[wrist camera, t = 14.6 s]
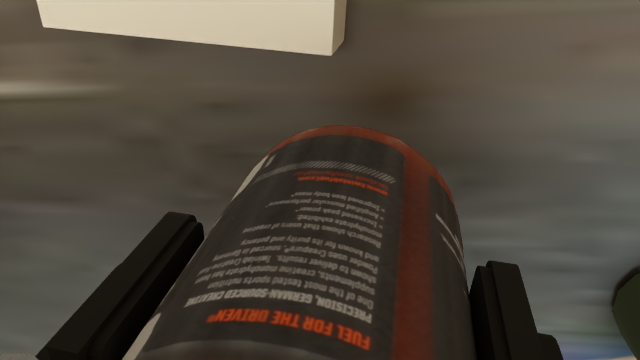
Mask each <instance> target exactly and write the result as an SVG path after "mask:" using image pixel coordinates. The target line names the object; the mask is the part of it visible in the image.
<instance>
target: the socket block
mask: <svg viewBox="0 0 640 360" xmlns="http://www.w3.org/2000/svg"><path fill="white" fill-rule="evenodd" d="M346 3H347V0H37V4H38V8H39V12H40V16H41V20H42V24H43V27H48V28H58V29H68V30H78V31H88V32H98V33H108V34H118V35H128V36H138V37H148V38H158V39H168V40H178V41H188V42H198V43H208V44H218V45H228V46H238V47H248V48H258V49H268V50H278V51H288V52H298V53H308V54H318V55H328V56H332V55H333V54H334V52H335V51H336V50H337V49H338V47H339V46H340V45H341V44H342V42H343V41H344V33H345V18H346Z"/></svg>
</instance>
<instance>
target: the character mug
mask: <svg viewBox="0 0 640 360" xmlns="http://www.w3.org/2000/svg"><path fill="white" fill-rule="evenodd" d="M612 312H613V315H614V317H615V320H616V322H617V325H618V327H619V330H620V332H621V334H622V336H623V337H624V339H625V341H626V342H627V344H628V346H629V347H630V349H631V351H632V352H633V354H634V356H635V357H636V359H637V360H640V273H639V274H636V275H635V276H634V277H633V278H632V279H631V280H630V281H628V282H627V283H626V284H625V285H624V286H623V287H622V288H621V289H620V290H619V291H618V294H617V297H616V300H615V303H614V307H613V310H612Z"/></svg>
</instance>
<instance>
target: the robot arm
mask: <svg viewBox="0 0 640 360" xmlns="http://www.w3.org/2000/svg"><path fill="white" fill-rule="evenodd" d="M203 241H204V231H203V225H202V223H200V222H197V220H196V218H195V216H193V215H189V214H183V213H176V212H168V213H167V214H166V215H165V216H164V217H163V218H162V219H161V220H160V221H159V223H158V224H157V225H156V226H155V227H154V228H153V229H152V230H151V231H150V233H149V234H148V235H147V236H146V237H145V238H144V239H143V240H142V241H141V243H140V244H139V245H138V246H137V247H136V248H135V249H134V250H133V251H132V253H131V254H130V255H129V256H128V257H127V258H126V259H125V260H124V261H123V262H122V263H121V264H120V265H118V266H117V267H116V268H115V269H114V270H113V271H112V272H111V274H110V275H109V276H108V277H107V278H106V279H105V280H104V281H103V282H102V283H101V285H100V286H99V287H98V288H97V289H96V290H95V291H94V292H93V293H92V294H91V296H90V297H89V298H88V299H87V300H86V301H85V302H84V303H83V304H82V305H81V307H80V308H79V309H78V310H77V311H76V312H75V313H74V314H73V315H72V317H71V318H70V319H69V320H68V321H67V322H66V323H65V324H64V325H63V326H62V328H61V329H60V330H59V331H58V332H57V333H56V334H55V335H54V336H53V337H52V339H51V340H50V341H49V342H48V343H47V344H46V345H45V346H44V347H43V348H42V350H41V351H40V352H39V353H38V354H37V355H36V356H32V355H29V354H26V353H10V354H5V355H0V360H122V359H123V358H124V356H125V355H126V353H127V352H128V350H129V349H130V348H131V346H132V345H133V343H134V342H135V340H136V339H137V337H138V336H139V334H140V332H141V331H142V330H143V328H144V327H145V326H146V324H147V322H148V321H149V319H150V318H151V316H152V315H153V314H154V312H155V310H156V309H157V307H158V306H159V305H160V303H161V302H162V300H163V299H164V298H165V296H166V295H167V293H168V292H169V291H170V289H171V288H172V286H173V285H174V283H175V282H176V280H177V279H178V278H179V276H180V274H181V273H182V271H183V269H184V268H185V267H186V266H187V264H188V263H189V261H190V260H191V258H192V257H193V256H194V254H195V253H196V251H197V250H198V248H199V247H200V245H201V244H202V242H203ZM469 301H470V310H471V316H472V324H473V332H474V339H475V346H476V354H477V360H563V357H562V354H561V351H560V348H559V345H558V343H557V341H556V339H555V338H554V337H553V336H552V335H546V334H541V333H537V330H536V326H535V323H534V319H533V316H532V312H531V309H530V305H529V302H528V298H527V295H526V291H525V288H524V284H523V281H522V277H521V274H520V270H519V267H518V266H517V265H516V264H510V263H503V262H497V261H488V262H487V264H486V267H484V266H477V268H476V271H475V274H474V278H473V282H472V285H471V289H470V293H469Z"/></svg>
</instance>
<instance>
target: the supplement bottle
mask: <svg viewBox="0 0 640 360" xmlns="http://www.w3.org/2000/svg"><path fill="white" fill-rule="evenodd" d="M122 360H477V354H476V346H475V339H474V332H473V324H472V316H471V310H470V301H469V292H468V286H467V280H466V270H465V265H464V256H463V245H462V238H461V233H460V225H459V220H458V215H457V213H456V209H455V205H454V201H453V198H452V195H451V192H450V190H449V188H448V187H447V185H446V183H445V181H444V180H443V178H442V177H441V175H440V174H439V173H438V171H437V170H436V169H435V167H434V166H433V165H432V164H431V163H430V162H429V161H428V160H426V159H425V158H424V157H423V156H422V155H421V154H420V153H419V152H417V151H416V150H415V149H413V148H412V147H411V146H409V145H407V144H406V143H404V142H402V141H400V140H399V139H397V138H395V137H393V136H391V135H389V134H386V133H382V132H379V131H376V130H372V129H368V128H362V127H355V126H324V127H319V128H314V129H310V130H307V131H304V132H301V133H297V134H295V135H293V136H291V137H289V138H287V139H285V140H284V141H282V142H281V143H280V144H278V145H277V146H276V147H274V148H273V149H272V150H271V151H269V152H268V153H267V154H266V155H265V156H264V157H263V158H262V159H261V161H260V162H259V163H258V164H257V165H256V166H255V167H254V168H253V170H252V171H251V173H250V174H249V175H248V177H247V178H246V179H245V181H244V182H243V184H242V185H241V187H240V188H239V190H238V191H237V193H236V194H235V196H234V197H233V199H232V200H231V202H230V203H229V204H228V206H227V207H226V208H225V210H224V211H223V213H222V214H221V216H220V217H219V219H218V220H217V221H216V223H215V224H214V226H213V227H212V229H211V231H210V232H209V233H208V235H207V236H206V238H205V239H204V241H203V242H202V244H201V245H200V247H199V248H198V250H197V251H196V253H195V254H194V256H193V257H192V258H191V260H190V261H189V263H188V264H187V266H186V267H185V268H184V269H183V271H182V273H181V274H180V276H179V278H178V279H177V280H176V282H175V283H174V285H173V286H172V288H171V289H170V291H169V292H168V293H167V295H166V296H165V298H164V299H163V300H162V302H161V303H160V305H159V306H158V307H157V309H156V310H155V312H154V314H153V315H152V316H151V318H150V319H149V321H148V322H147V324H146V326H145V327H144V328H143V330H142V331H141V332H140V334H139V336H138V337H137V339H136V340H135V342H134V343H133V345H132V346H131V348H130V349H129V350H128V352H127V353H126V355H125V356H124V358H123V359H122Z"/></svg>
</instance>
